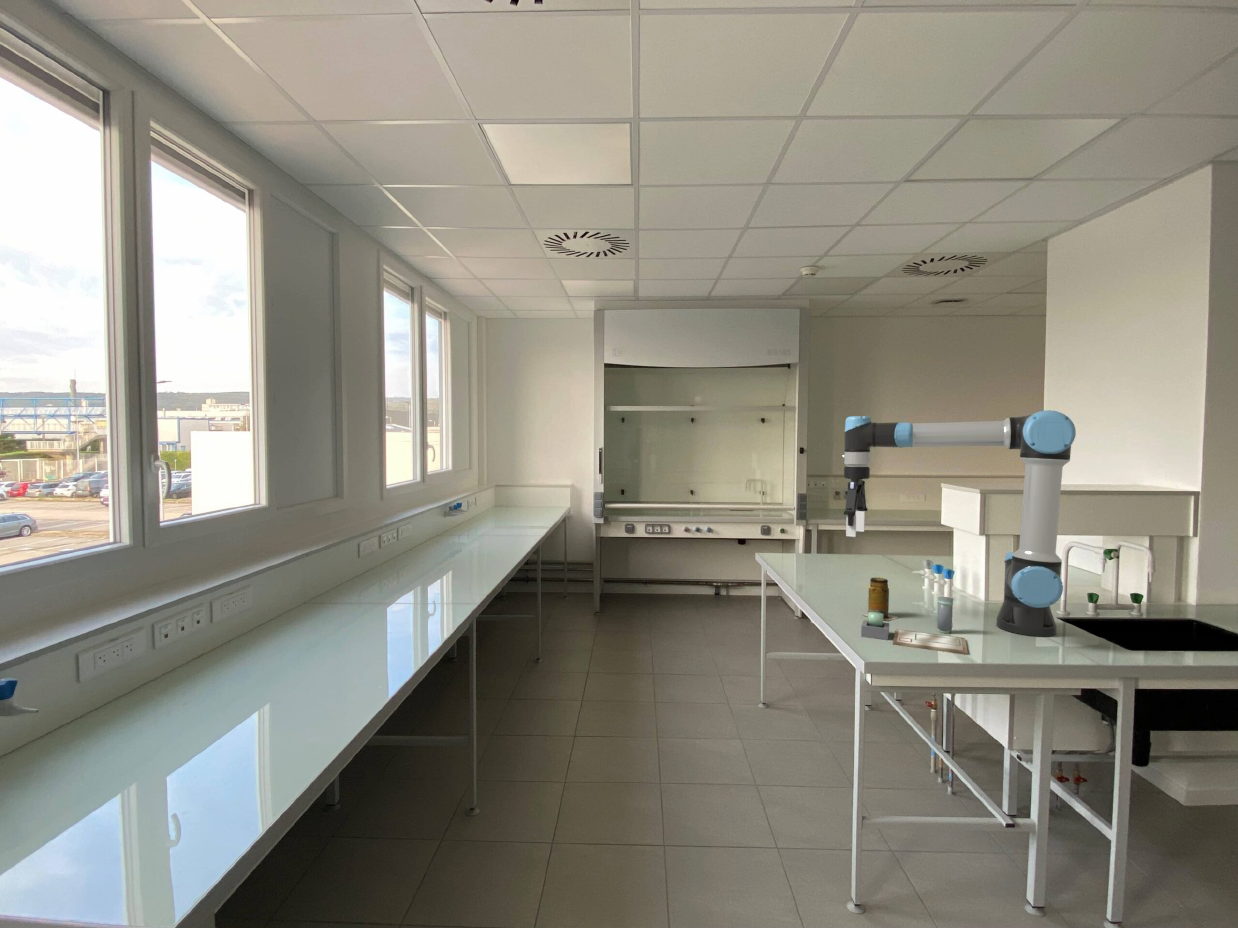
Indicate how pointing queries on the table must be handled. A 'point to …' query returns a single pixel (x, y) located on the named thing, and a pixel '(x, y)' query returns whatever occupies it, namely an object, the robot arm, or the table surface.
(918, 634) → the framed board
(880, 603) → the condiment
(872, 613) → the button
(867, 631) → the button box
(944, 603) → the marker
